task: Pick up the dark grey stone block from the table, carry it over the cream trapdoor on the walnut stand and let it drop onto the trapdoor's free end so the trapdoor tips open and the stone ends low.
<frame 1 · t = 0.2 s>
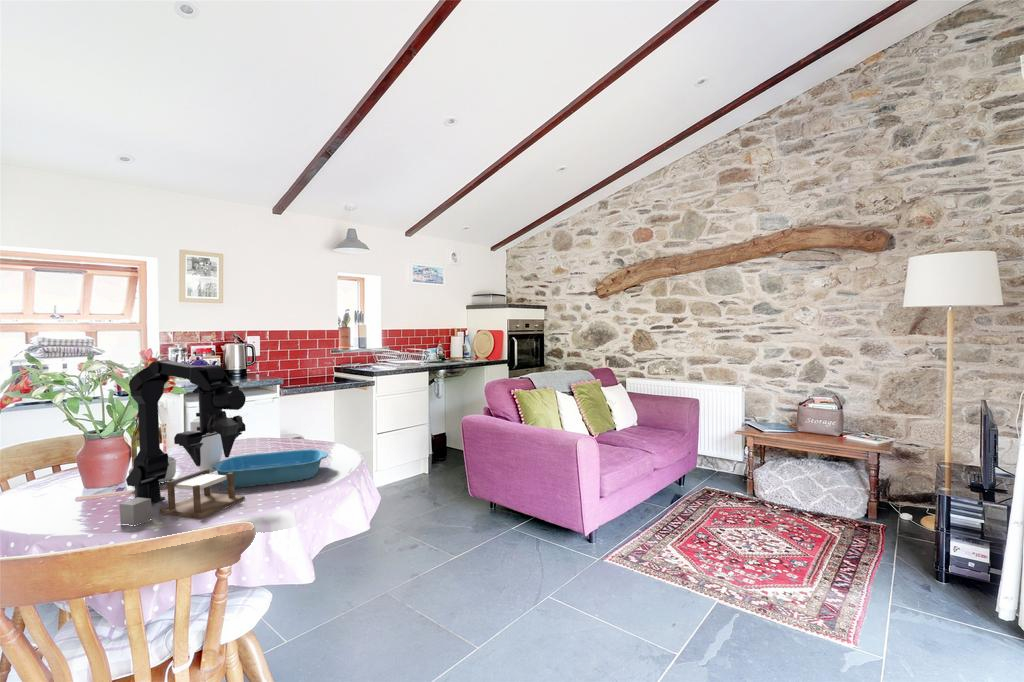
hand: (213, 461, 145), 14 cm above the table, tool pointing down, fingers open, 9 cm apart
casserole dish: (273, 478, 176), on the table
trapdoor stand: (203, 506, 149), on the table
cup: (209, 480, 175), on the table
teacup: (153, 484, 172), on the table
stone: (136, 522, 138), on the table
trapdoor: (202, 481, 149), point 7 cm above the table, hinge at 0.0°
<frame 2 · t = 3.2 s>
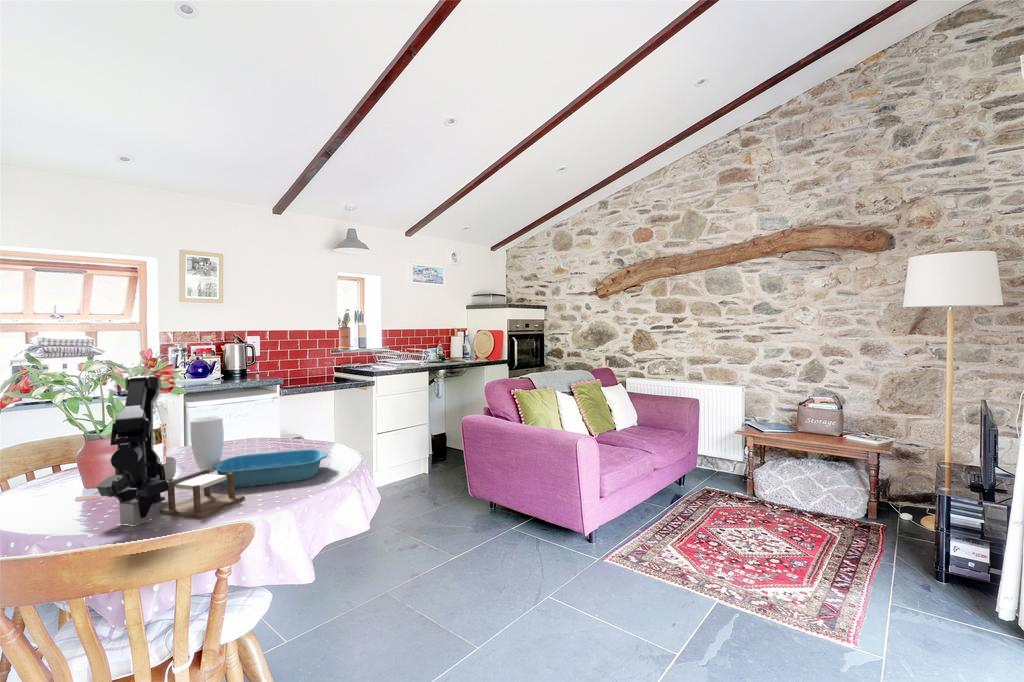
hand: (136, 516, 138), 2 cm above the table, tool pointing down, fingers closed on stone, 5 cm apart
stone: (136, 522, 138), on the table, touching gripper
everything else where it was.
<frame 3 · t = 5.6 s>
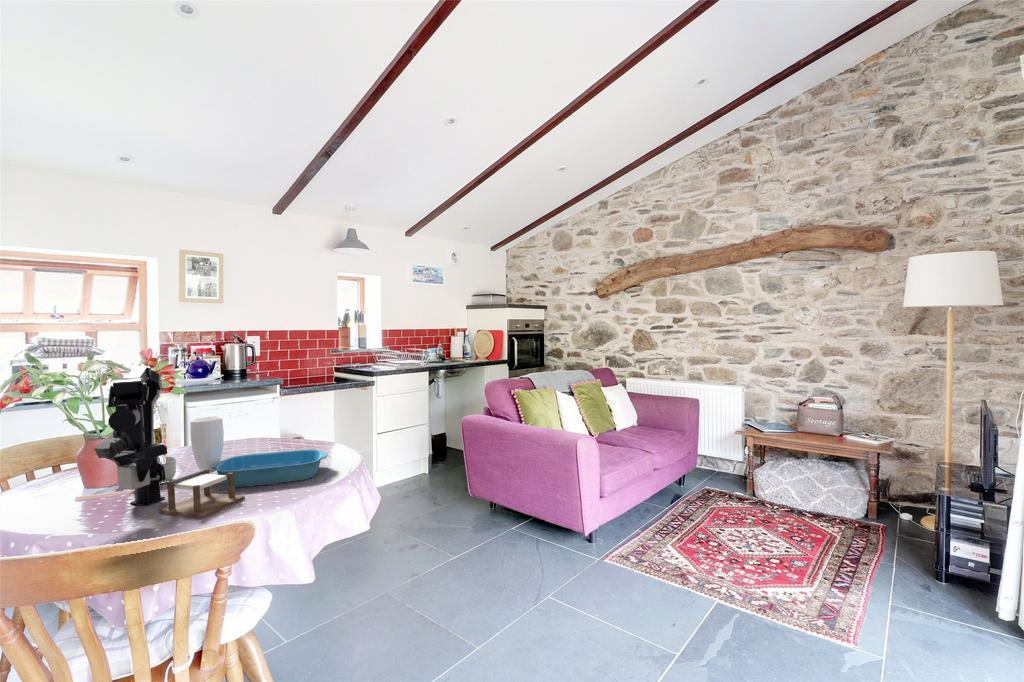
hand: (134, 480, 138), 12 cm above the table, tool pointing down, fingers closed on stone, 5 cm apart
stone: (134, 486, 138), point 10 cm above the table, touching gripper
everything else where it was.
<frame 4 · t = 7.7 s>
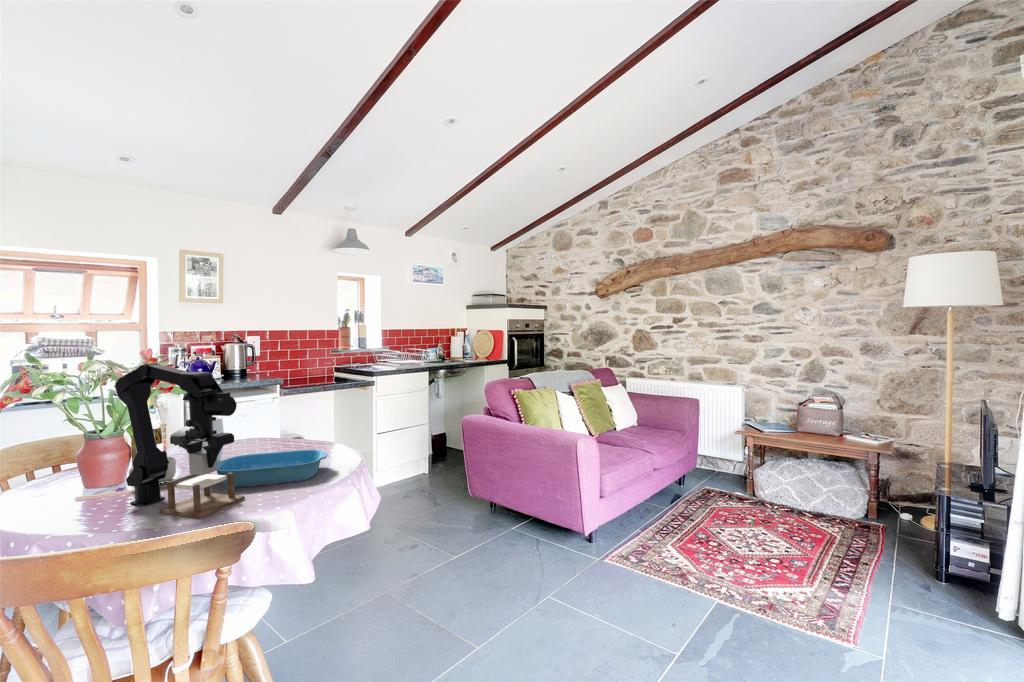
hand: (203, 467, 148), 12 cm above the table, tool pointing down, fingers closed on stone, 5 cm apart
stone: (203, 472, 149), point 10 cm above the table, touching gripper
everything else where it was.
when the fingers open (12 cm above the table, at t = 8.5 s): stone drops 4 cm, resting on trapdoor.
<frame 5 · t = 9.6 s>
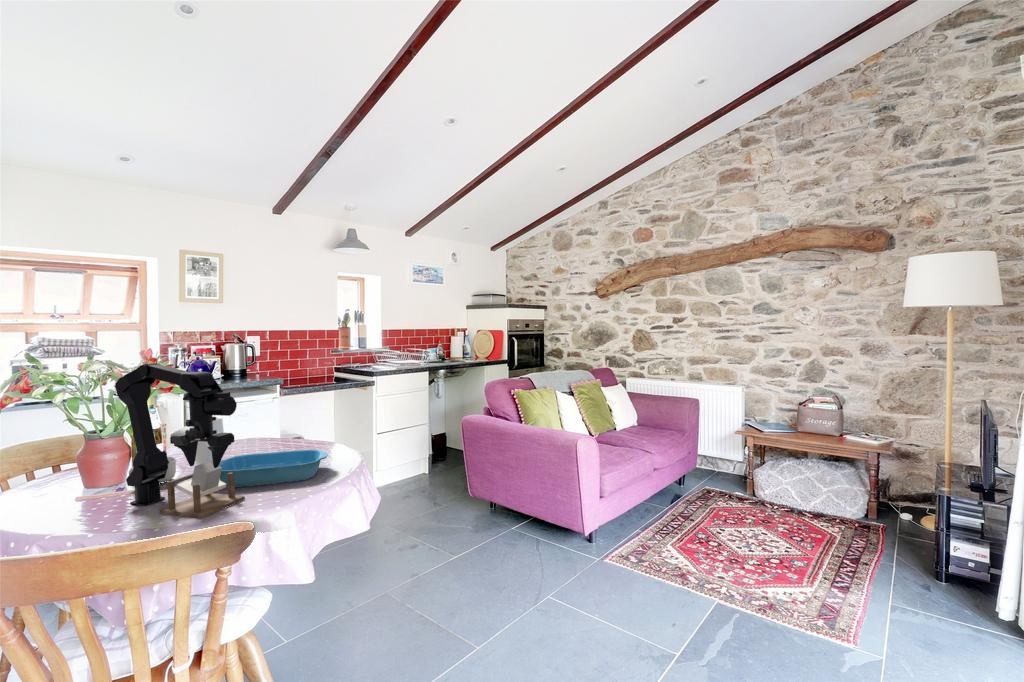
hand: (203, 466, 148), 12 cm above the table, tool pointing down, fingers open, 9 cm apart
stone: (204, 485, 149), point 6 cm above the table, tilted 19°, touching trapdoor
trapdoor: (201, 485, 149), point 6 cm above the table, hinge at -18.6°, touching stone
everything else where it was.
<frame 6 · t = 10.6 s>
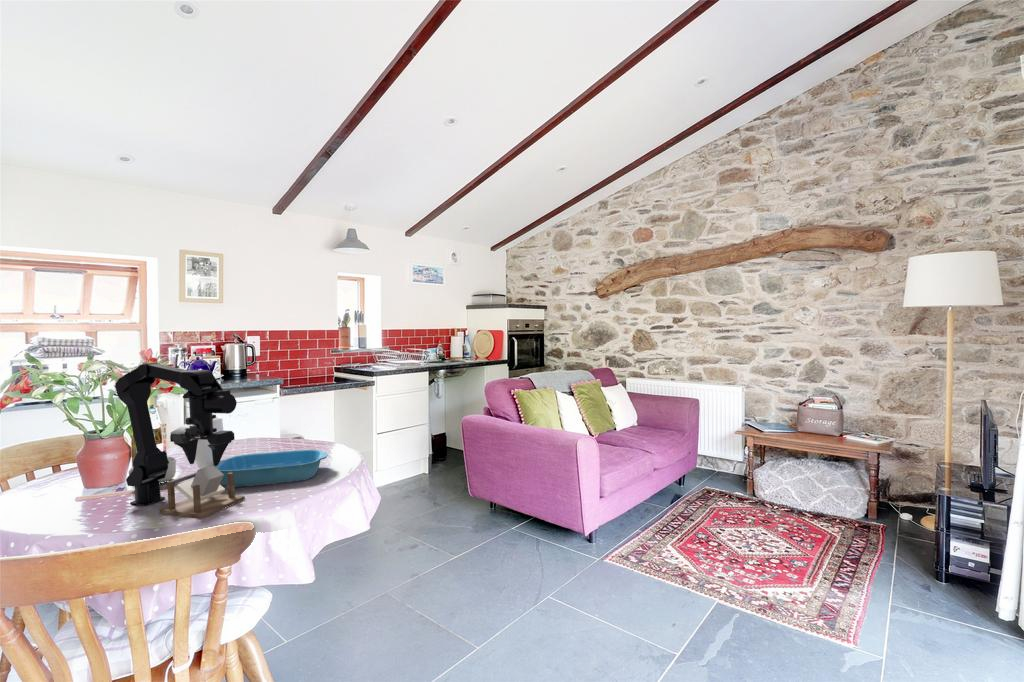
hand: (203, 464, 148), 13 cm above the table, tool pointing down, fingers open, 9 cm apart
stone: (203, 488, 149), point 5 cm above the table, tilted 31°, touching trapdoor
trapdoor: (201, 488, 149), point 5 cm above the table, hinge at -30.7°, touching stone
everything else where it was.
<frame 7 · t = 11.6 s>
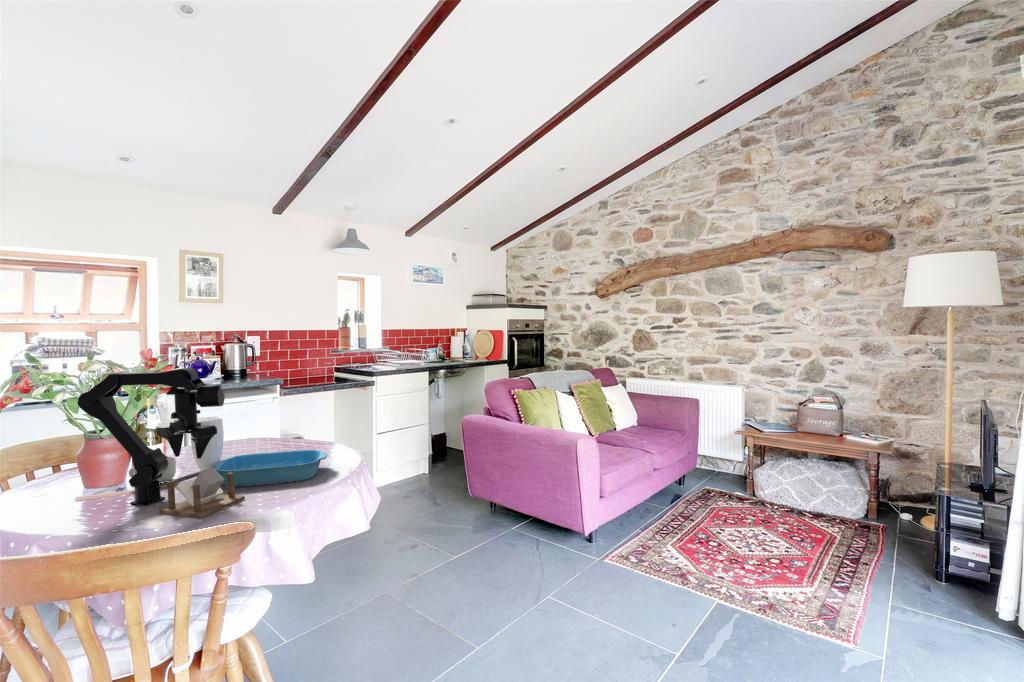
hand: (188, 457, 156), 13 cm above the table, tool pointing down, fingers open, 9 cm apart
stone: (203, 490, 149), point 5 cm above the table, tilted 39°, touching trapdoor
trapdoor: (200, 489, 149), point 5 cm above the table, hinge at -39.0°, touching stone
everything else where it was.
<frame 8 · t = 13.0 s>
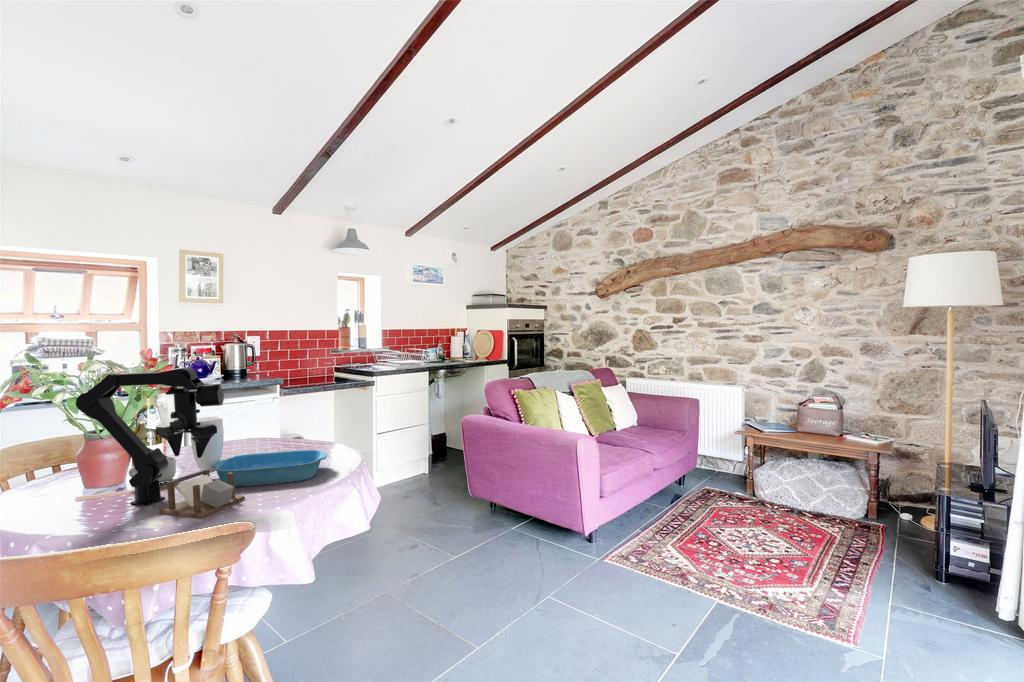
hand: (188, 456, 157), 13 cm above the table, tool pointing down, fingers open, 9 cm apart
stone: (209, 489, 148), point 5 cm above the table, tilted 107°, touching trapdoor, trapdoor stand
trapdoor: (199, 490, 149), point 5 cm above the table, hinge at -42.0°, touching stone
everything else where it was.
at the end: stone point 5.2 cm above the table; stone 8.7 cm from the trapdoor (horizontally); the gripper is holding nothing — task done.
